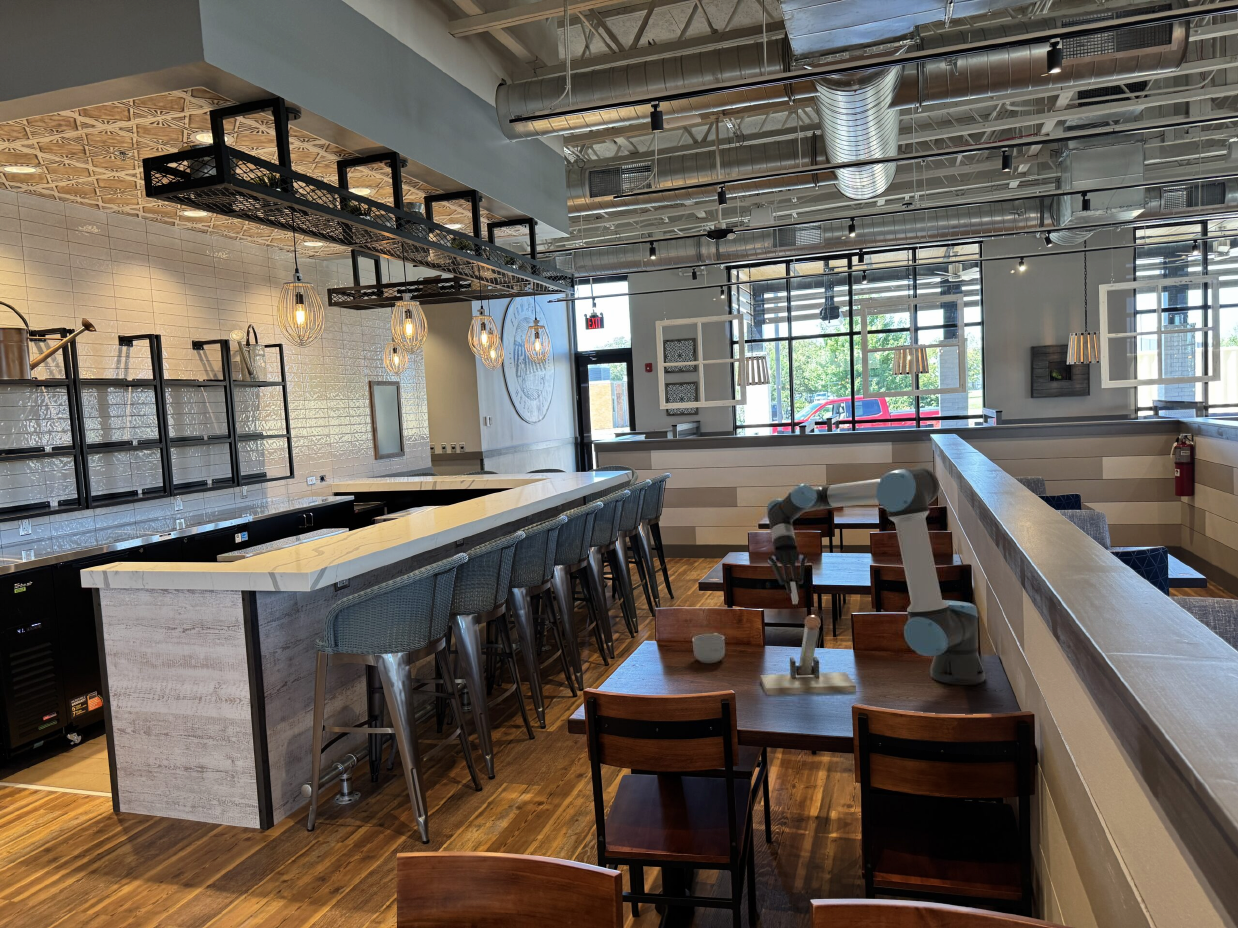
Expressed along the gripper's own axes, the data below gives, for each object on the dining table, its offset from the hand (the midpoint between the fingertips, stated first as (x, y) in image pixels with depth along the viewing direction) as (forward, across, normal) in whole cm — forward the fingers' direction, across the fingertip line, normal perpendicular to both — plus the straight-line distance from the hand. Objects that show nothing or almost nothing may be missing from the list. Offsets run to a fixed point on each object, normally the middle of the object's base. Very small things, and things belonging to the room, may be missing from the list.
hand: (795, 601), depth 254 cm
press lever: (+20, 0, -8) cm, 22 cm away
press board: (+25, 0, -7) cm, 26 cm away
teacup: (+4, +26, -29) cm, 39 cm away
